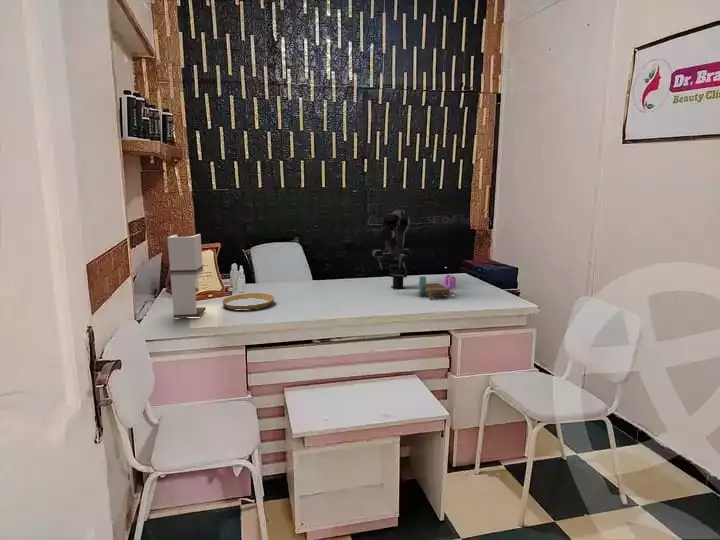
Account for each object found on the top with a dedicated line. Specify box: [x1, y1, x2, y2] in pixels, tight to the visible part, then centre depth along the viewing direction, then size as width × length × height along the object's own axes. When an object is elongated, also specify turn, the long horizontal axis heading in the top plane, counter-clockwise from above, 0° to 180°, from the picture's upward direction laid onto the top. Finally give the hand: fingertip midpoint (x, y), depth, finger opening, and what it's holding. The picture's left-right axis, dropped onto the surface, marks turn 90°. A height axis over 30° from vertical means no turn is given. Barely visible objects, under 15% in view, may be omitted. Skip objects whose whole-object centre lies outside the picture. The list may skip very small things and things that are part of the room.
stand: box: [426, 282, 451, 301], centre depth 243 cm, size 15×10×5 cm, turn 13°
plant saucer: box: [221, 292, 275, 310], centre depth 229 cm, size 24×24×3 cm
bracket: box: [442, 274, 457, 290], centre depth 259 cm, size 13×6×7 cm, turn 110°
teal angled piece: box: [418, 276, 446, 298], centre depth 243 cm, size 2×14×10 cm, turn 103°
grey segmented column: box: [166, 233, 206, 319], centre depth 209 cm, size 11×11×35 cm
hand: (391, 269), depth 245 cm, fingers open, 9 cm apart
